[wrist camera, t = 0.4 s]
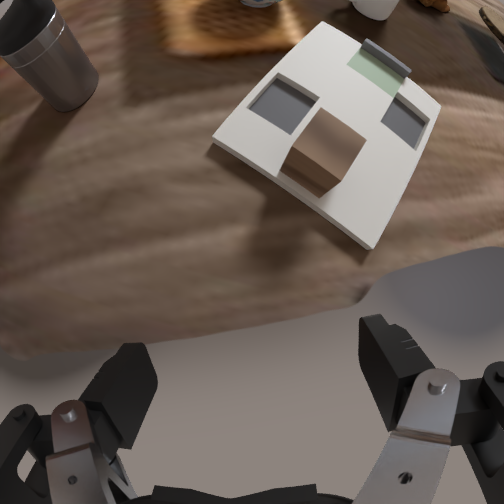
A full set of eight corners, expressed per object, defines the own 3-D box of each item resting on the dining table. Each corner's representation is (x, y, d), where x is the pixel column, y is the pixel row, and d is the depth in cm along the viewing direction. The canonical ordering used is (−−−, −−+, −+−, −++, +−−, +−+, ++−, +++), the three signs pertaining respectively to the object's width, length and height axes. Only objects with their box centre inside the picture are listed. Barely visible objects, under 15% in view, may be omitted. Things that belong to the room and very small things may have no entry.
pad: (388, 104, 40) (393, 98, 38) (342, 71, 39) (346, 64, 37) (400, 81, 40) (406, 76, 38) (358, 51, 40) (362, 44, 38)
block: (319, 198, 36) (341, 181, 28) (279, 170, 36) (291, 145, 28) (341, 163, 36) (366, 139, 28) (304, 136, 36) (320, 107, 28)
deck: (366, 249, 38) (380, 248, 34) (212, 142, 37) (211, 129, 33) (435, 110, 40) (447, 101, 36) (319, 28, 40) (325, 13, 36)
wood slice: (515, 54, 46) (520, 50, 43) (482, 24, 45) (487, 20, 42) (507, 30, 47) (511, 26, 44) (475, 3, 46) (479, -1, 43)
